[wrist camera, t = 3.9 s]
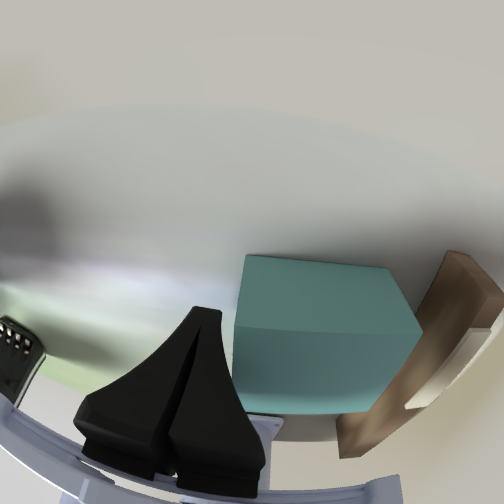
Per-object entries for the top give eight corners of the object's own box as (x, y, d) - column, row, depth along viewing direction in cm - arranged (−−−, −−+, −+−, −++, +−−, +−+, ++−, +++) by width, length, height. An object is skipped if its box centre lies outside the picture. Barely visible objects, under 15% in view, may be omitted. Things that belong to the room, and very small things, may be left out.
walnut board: (354, 420, 20) (360, 459, 17) (335, 421, 20) (339, 461, 17) (470, 256, 12) (511, 302, 8) (448, 250, 12) (491, 300, 8)
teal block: (353, 349, 15) (367, 411, 11) (239, 343, 15) (230, 409, 12) (387, 268, 12) (423, 332, 8) (245, 254, 12) (234, 325, 9)
